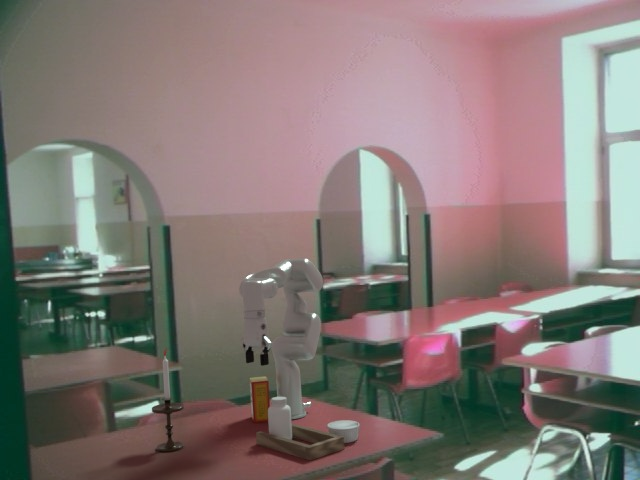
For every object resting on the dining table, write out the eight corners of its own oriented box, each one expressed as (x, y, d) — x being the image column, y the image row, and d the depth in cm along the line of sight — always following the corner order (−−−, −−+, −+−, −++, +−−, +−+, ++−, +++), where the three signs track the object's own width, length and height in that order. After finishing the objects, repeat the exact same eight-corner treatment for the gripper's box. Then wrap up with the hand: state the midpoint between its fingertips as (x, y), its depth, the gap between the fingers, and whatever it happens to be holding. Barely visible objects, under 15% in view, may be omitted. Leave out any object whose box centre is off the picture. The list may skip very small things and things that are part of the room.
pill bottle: (293, 437, 250) (291, 395, 250) (290, 444, 242) (288, 400, 242) (271, 438, 251) (269, 395, 251) (267, 445, 243) (265, 401, 243)
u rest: (290, 434, 255) (289, 423, 255) (344, 448, 234) (343, 436, 234) (256, 444, 245) (256, 432, 245) (310, 460, 224) (309, 447, 224)
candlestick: (191, 443, 250) (185, 344, 250) (177, 453, 239) (171, 349, 239) (163, 443, 253) (157, 344, 253) (148, 452, 242) (142, 350, 242)
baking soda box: (251, 417, 283) (249, 376, 282) (268, 415, 284) (265, 375, 284) (253, 423, 273) (251, 381, 273) (270, 421, 274) (268, 379, 274)
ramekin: (357, 444, 238) (356, 428, 238) (325, 444, 240) (324, 428, 240) (362, 435, 249) (361, 420, 249) (331, 434, 251) (330, 420, 251)
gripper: (277, 314, 251) (280, 364, 251) (248, 312, 264) (251, 359, 264) (260, 317, 246) (263, 368, 246) (231, 315, 259) (234, 363, 259)
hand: (257, 363), depth 255 cm, fingers open, 8 cm apart
